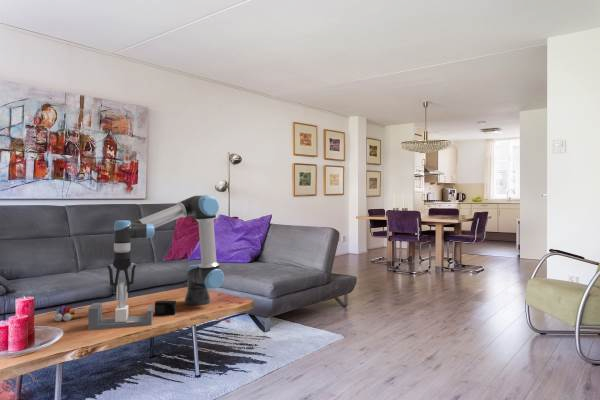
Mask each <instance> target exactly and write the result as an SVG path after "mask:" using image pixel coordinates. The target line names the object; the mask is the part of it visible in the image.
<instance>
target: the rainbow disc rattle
mask: <svg viewBox="0 0 600 400" xmlns="http://www.w3.org/2000/svg"><path fill="white" fill-rule="evenodd" d="M71 309H72V308H71V306H70V305H68V306H66V305H62V306H61V308H56V310H55V311H56V314H54V316H53V317H54V320H55V322H61V321H65V322H70V321H71V320H72V319H74V318H75V317H76V315H77V313H76V311H75V310H76V309H72V310H71Z"/></svg>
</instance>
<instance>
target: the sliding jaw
mask: <svg viewBox="0 0 600 400" xmlns="http://www.w3.org/2000/svg"><path fill="white" fill-rule="evenodd" d="M118 285H119V299H118V305H117V306H116V308H115V311H114V315H115V316H114V318H115V322H126V321H127V319H128V317H129V304H126V301H127V299H125V286H126V285H127V283H126V282H118Z"/></svg>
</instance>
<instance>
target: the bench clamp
mask: <svg viewBox="0 0 600 400" xmlns="http://www.w3.org/2000/svg"><path fill="white" fill-rule="evenodd" d="M87 317H88V323H87V324H88V326H87V327H88V331H93V330H94V331H96V330H106V329H107V330H108V329H110V330H111V329H120V328H131V327H132V328H134V327H144V326H152V324H153V319H154V305H153V304H149V305H148V307H147V311H146V315H133V316H128V319H127V321H126V322H115V317H105V318H103V302H93V303H92V304H91V305H90V306H89V308H88V315H87Z"/></svg>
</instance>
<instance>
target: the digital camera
mask: <svg viewBox="0 0 600 400" xmlns="http://www.w3.org/2000/svg"><path fill="white" fill-rule="evenodd" d="M176 314H177V301H176V300H156V301H155V302H154V316H155V317H156V316H159V317H160V316H175V315H176Z"/></svg>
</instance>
